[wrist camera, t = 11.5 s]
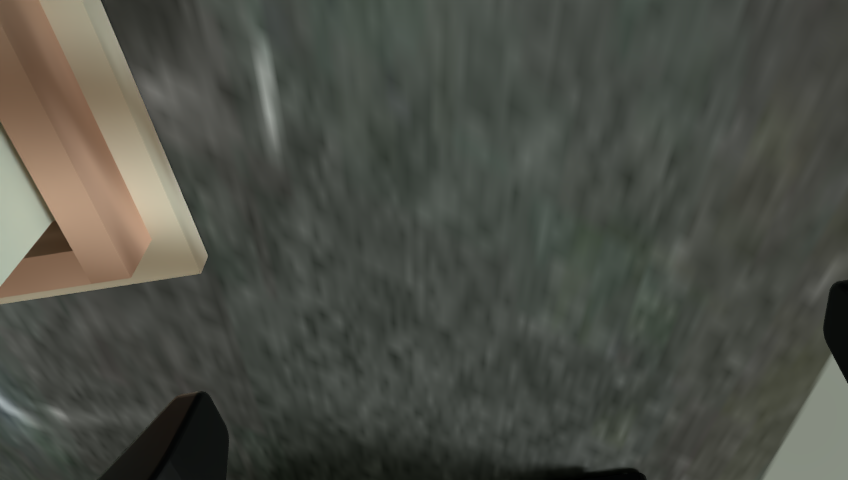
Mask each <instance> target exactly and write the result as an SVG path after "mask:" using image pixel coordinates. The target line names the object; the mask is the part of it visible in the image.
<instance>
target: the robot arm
mask: <svg viewBox="0 0 848 480" xmlns="http://www.w3.org/2000/svg"><path fill="white" fill-rule="evenodd" d="M823 332H824V337H825V340H826V343H827V345H828V347H829V349H830V351H831V353H832V354H833V356H834V358H835V360H836V362H837V364H838V366H839V368H840V370H841V371H842V373H843V375H844V377H845V379H846V381H847V383H848V280H843V281H838V282H836V283H834V284H833V285H832V287H831V288H830V292H829V297H828V303H827V308H826V314H825V319H824V325H823ZM228 447H229V436H228V431H227V427H226V425H225V423H224V421H223V419H222V417H221V416H220V414H219V412H218V410H217V408H216V406H215V405H214V403H213V401H212V399H211V397H210V396H209V394H207V393H206V392H204V391H198V392H192V393H187V394H181V395H179V396H177V397H176V398H174V399H173V400H172V401H171V402H170V403H169V404H168V406H167V407H166V408H165V409H164V410H163V411H162V412H161V413H160V414H159V415H158V416H157V417H156V418H155V419H154V420H153V421H152V422H151V423H150V424H149V425H148V427H147V428H146V429H145V430H144V431H143V432H142V433H141V434H140V435H139V436H138V437H137V438H136V439H135V440H134V441H133V442H132V443H131V444H130V445H129V447H128V448H127V449H126V450H125V451H124V452H123V453H122V454H121V455H120V456H119V457H118V458H117V459H116V460H115V461H114V462H113V463H112V464H111V465H110V466H109V468H108V469H107V470H106V471H105V472H104V473H103V474H102V475H101V476H100V477H99V478H98V479H97V480H226V472H227V459H228ZM583 480H647V479H646V477H645V475H644V474H642V473H629V474H621V475H614V476H606V477H598V478H591V479H583Z"/></svg>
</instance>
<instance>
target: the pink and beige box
mask: <svg viewBox="0 0 848 480" xmlns="http://www.w3.org/2000/svg"><path fill="white" fill-rule="evenodd" d="M0 121H1V123H2V125H3V127H4V129H5V130H6V132H7V134H8V136H9V138H10V139H11V141H12V143H13V145H14V147H15V148H16V150H17V152H18V154H19V155H20V157H21V159H22V161H23V163H24V164H25V166H26V168H27V170H28V172H29V173H30V175H31V177H32V179H33V180H34V182H35V184H36V186H37V188H38V189H39V191H40V193H41V195H42V197H43V198H44V200H45V202H46V204H47V206H48V207H49V209H50V211H51V213H52V214H53V216H54V218H55V219H54V220H53V222H52V223H51V224H50V225H49V227H48V228H47V229H46V230H45V232H44V233H43V234H42V235H41V237H40V238H39V239H38V240H37V242H36V243H35V244H34V245H33V247H32V248H31V249H30V250H29V251H28V253H27V254H26V255H25V256H24V258H23V259H22V260H21V261H20V263H19V264H18V265H17V266H16V268H15V269H14V270H13V271H12V273H11V274H10V275H9V276H8V278H7V279H6V280H5V281H4V283H3V284H2V285H1V286H0V304H5V303H11V302H18V301H24V300H31V299H37V298H44V297H51V296H57V295H64V294H70V293H77V292H83V291H90V290H96V289H103V288H109V287H116V286H123V285H129V284H136V283H142V282H149V281H155V280H162V279H168V278H175V277H181V276H188V275H195V274H201V272H202V270H203V267H204V265H205V262H206V260H207V257H208V255H207V252H206V250H205V248H204V245H203V243H202V240H201V238H200V236H199V233H198V231H197V228H196V226H195V224H194V221H193V219H192V217H191V214H190V212H189V209H188V207H187V205H186V202H185V200H184V198H183V195H182V193H181V190H180V188H179V186H178V183H177V181H176V179H175V176H174V174H173V171H172V169H171V167H170V164H169V162H168V160H167V157H166V155H165V152H164V150H163V148H162V145H161V143H160V141H159V138H158V136H157V133H156V131H155V129H154V126H153V124H152V121H151V119H150V117H149V114H148V112H147V110H146V107H145V105H144V102H143V100H142V98H141V95H140V93H139V91H138V88H137V86H136V83H135V81H134V79H133V76H132V74H131V72H130V69H129V67H128V64H127V62H126V60H125V57H124V55H123V53H122V50H121V48H120V45H119V43H118V41H117V38H116V36H115V34H114V31H113V29H112V26H111V24H110V22H109V19H108V17H107V14H106V12H105V10H104V7H103V5H102V3H101V0H0Z"/></svg>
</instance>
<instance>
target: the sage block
mask: <svg viewBox="0 0 848 480" xmlns="http://www.w3.org/2000/svg"><path fill="white" fill-rule="evenodd" d="M54 219H55V218H54V216H53V214H52V213H51V211H50V209H49V207H48V206H47V204H46V202H45V200H44V198H43V197H42V195H41V193H40V191H39V189H38V188H37V186H36V184H35V182H34V180H33V179H32V177H31V175H30V173H29V172H28V170H27V168H26V166H25V164H24V163H23V161H22V159H21V157H20V155H19V154H18V152H17V150H16V148H15V147H14V145H13V143H12V141H11V139H10V138H9V136H8V134H7V132H6V130H5V129H4V127H3V125H2V123H1V121H0V286H1V285H2V284H3V283H4V281H5V280H6V279H7V278H8V276H9V275H10V274H11V273H12V271H13V270H14V269H15V268H16V266H17V265H18V264H19V263H20V261H21V260H22V259H23V258H24V256H25V255H26V254H27V253H28V251H29V250H30V249H31V248H32V247H33V245H34V244H35V243H36V242H37V240H38V239H39V238H40V237H41V235H42V234H43V233H44V232H45V230H46V229H47V228H48V227H49V225H50V224H51V223H52V222H53V220H54Z"/></svg>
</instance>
